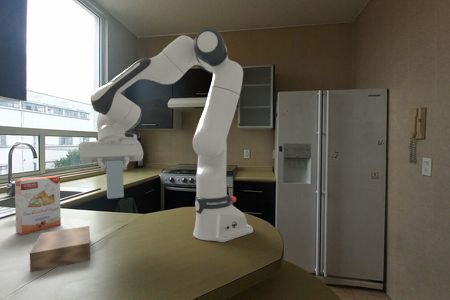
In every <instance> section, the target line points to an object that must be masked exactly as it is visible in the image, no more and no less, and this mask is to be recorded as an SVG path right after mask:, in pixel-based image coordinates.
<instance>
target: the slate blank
mask: <svg viewBox="0 0 450 300" xmlns="http://www.w3.org/2000/svg"><path fill="white" fill-rule="evenodd" d="M123 163H124V162H123V161H121V160H119V161H106V162H105V164H106V165H107V166H106V167H107V171H105V173H106V174H105V178H106V197H107V199H108V200H110V199H118V198H124V197H125V192H124V170H123Z"/></svg>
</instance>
